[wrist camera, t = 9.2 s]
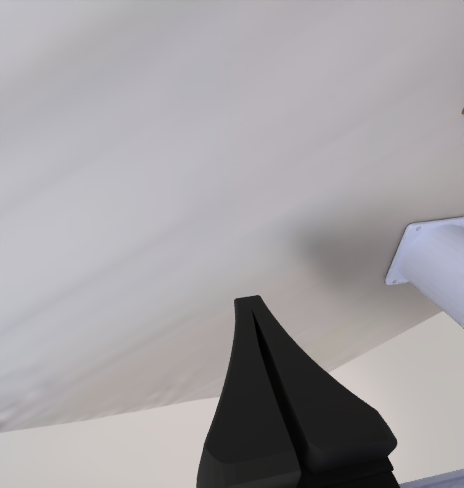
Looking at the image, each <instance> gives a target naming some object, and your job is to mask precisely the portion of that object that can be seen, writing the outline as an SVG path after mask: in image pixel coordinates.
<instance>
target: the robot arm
mask: <svg viewBox="0 0 464 488" xmlns="http://www.w3.org/2000/svg"><path fill="white" fill-rule="evenodd" d="M406 282H411V283H412V284H413V285H414V286H415V287H416V288H417V289H419V290H420V291H421V292H422V293H423V294H424V295H426V296H427V297H428V298H429V299H430V300H431V301H433V302H434V303H435V304H436V305H437V306H438V307H439V308H441V309H442V310H443V311H444V312H445V313H446V314H448V315H449V316H450V317H451V318H452V319H454V320H455V321H456V322H457V323H458V324H459V325H460V326H462V327H463V328H464V217H459V218H451V219H443V220H435V221H428V222H420V223H412V224H410V225H408V226H407V228H406V230H405V233H404V235H403V238H402V240H401V242H400V245H399V247H398V250H397V252H396V255H395V257H394V260H393V262H392V264H391V267H390V269H389V272H388V274H387V277H386V279H385V283H386V284H387V285H393V284H399V283H406ZM234 306H235V332H234V340H233V346H232V352H231V357H230V362H229V367H228V371H227V375H226V379H225V383H224V386H223V390H222V393H221V397H220V400H219V403H218V406H217V409H216V412H215V415H214V418H213V421H212V424H211V426H210V429H209V432H208V434H207V437H206V440H205V443H204V447H203V452H202V456H201V460H200V464H199V469H198V475H197V484H196V488H464V469H461V470H456V471H452V472H448V473H444V474H440V475H436V476H432V477H428V478H423V479H419V480H415V481H411V482H407V483H403V484H398V483H397V481H396V478H395V477H394V475H393V473H392V471H393V470H394V469H393V466H392V464H391V462H390V461H389V458H388V457H387V456H388V455H389V454H390V453H391V452H392V451H393V450H394V449H395V448H396V446H397V439H396V438H395V436H394V435H393V433H392V431H391V429H390V428H389V426H388V425H387V423H386V422H385V421H384V419H383V418H382V417H381V415H380V414H379V413H378V411H377V410H375V409H374V408H373V407H371V406H370V405H368V404H367V403H365V402H364V401H363V400H361V399H360V398H358V397H357V396H356V395H354V394H353V393H352V392H350V391H349V390H348V389H346V388H345V387H344V386H343V385H341V384H340V383H339V382H337V380H335V379H334V378H333V377H332V376H331V375H329V374H328V373H327V372H326V371H325V370H323V369H322V368H321V367H320V366H319V365H318V364H317V363H316V362H315V361H314V360H312V359H311V358H310V357H309V356H308V355H307V354H306V353H305V352H304V351H303V350H302V349H301V348H300V347H299V346H298V345H297V344H296V342H295V341H294V340H293V339H292V338H291V337H290V336H289V335H288V333H287V332H286V331H285V330H284V329H283V327H282V326H281V325H280V324H279V322H278V321H277V320H276V319H275V317H274V316H273V315H272V313H271V312H270V310H269V309H268V308H267V306H266V305H265V303H264V301H263V300H262V298H261V296H259V295H256V296H250V297H243V298H236V299H235V300H234Z"/></svg>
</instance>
